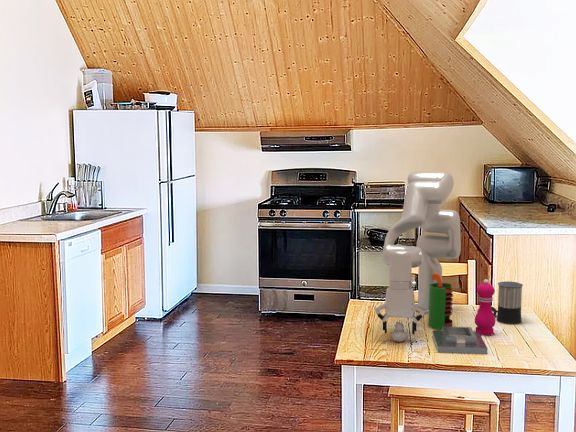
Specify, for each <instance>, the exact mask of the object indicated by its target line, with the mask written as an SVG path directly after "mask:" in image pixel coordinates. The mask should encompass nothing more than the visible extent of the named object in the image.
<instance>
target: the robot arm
mask: <svg viewBox="0 0 576 432" xmlns="http://www.w3.org/2000/svg"><path fill="white" fill-rule="evenodd" d="M454 183H455V182H454V176H453V175H452V174H451V173H450V172H445V171H413V172H410V173H409V174H408V176H407V186H406V191H405V196H404V202H403V207H402V212H401V217H400V219H398V220H397V221H396V222H395V223H394V224H393V225H392V226H391V227H390V229H388V232H387V233H386V235H385V238H384V244H383V247H382V248H383V249H382V260H383V263H385V265H387V266H389V276H388V277H389V280H388V283H389V286H388V287H387V288H386V292H385V300H384V301H385V303H384V304H382V305H379V306H377V307H375V308H374V311H375V313H376V315H377V318H378V319H379V320H381V322H382V331H384V334H387V333H388V330H387V329H388V321H387V320H388V319H389V318H400V319H401V318H406V319H408V318H409V319H410V320H411V333H412V335H415V334H416V333H415V332H417V330H418V328H417V327H418V325H417V324H418V323H419V321H420V320H421V319H423V317H424V314H429V291H430V284H432V283H438V281H437V280H432V274H435V273H437V274H439V275H440V276H441V280H442V281H443V267H442V264H441V263H440V261H439V260H438V259H451V260H455V259H458V258H459V257H460V255H461V252H462V248H461V247H462V241H461V239H462V238H461V237H462V236H461V219H460V218H461V217H460V215H459V213H458V211H456V210H453V209H442V208H441V205H442V204H445V202H446V201H447V199H448V198H449V196H450V195H451V193H452V192H453V188H454V185H455V184H454ZM417 228H420V229H421V231H423V232H426V233H425V234H421V235H419V236H418V237H417V239H416V246H413V245H403V244H402V245H401V244H395V242H396V240H397V239H398V238H399V236H401V235H402V234H404V233H406V232H409V231H412V230H414V229H417ZM414 268H418V273H417V274H418V276H417V277H418V278H417V280H418V283H417V284H418V285H417V284H416V281H413V280H412V269H414ZM416 285H417V304H416V301H415V292H414V288H413V287H414V286H416ZM382 310H384V312H385V314H382V313H381V311H382ZM415 312H418V313H419V314H417V316H416V315H415Z"/></svg>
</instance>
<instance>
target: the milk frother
mask: <svg viewBox="0 0 576 432" xmlns="http://www.w3.org/2000/svg"><path fill="white" fill-rule="evenodd" d="M497 285H498V290H497V292H498V293H497V294H498V296H497V301H498V302H497V308H495V307H494V306H492V305H491V308H492V312H493V315H494V317H495V316H496V315H497V316H496V322H498V323H501V324H506V325H518V324H519V325H520V324H522V296H523V295H522V294H523V293H522V291H523V286H524V285H523V284H522V283H520V282H517V281H510V280H509V281H508V280H507V281H499V282H497ZM478 310H479V308H478V309H477V312H478ZM477 312H476V313H477Z"/></svg>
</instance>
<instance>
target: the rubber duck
mask: <svg viewBox="0 0 576 432" xmlns="http://www.w3.org/2000/svg"><path fill="white" fill-rule="evenodd" d="M404 327H405V326H404V323H403V322H402V321H400V319H398V320H397V321H396V322H395V324H394V330H392V332H391V337H392V339H393V341H395V342H396V343H402V342H405V340H406V339H407V338H408V332H407V331H405V328H404Z"/></svg>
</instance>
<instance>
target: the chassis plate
mask: <svg viewBox="0 0 576 432" xmlns="http://www.w3.org/2000/svg"><path fill="white" fill-rule="evenodd" d="M432 339H433V343H434V345H435V348H436V352H437V353H443V354H444V353H446V354H448V353H449V354H451V353H452V354H476V355H477V354H478V355H488V346H487V345H486V343H485V341H484V339H483V338H482V335H480V334H479V332H476V331H474V330H473V328H472V327H471V326H453V325H452V326H442V330H437V329H432Z"/></svg>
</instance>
